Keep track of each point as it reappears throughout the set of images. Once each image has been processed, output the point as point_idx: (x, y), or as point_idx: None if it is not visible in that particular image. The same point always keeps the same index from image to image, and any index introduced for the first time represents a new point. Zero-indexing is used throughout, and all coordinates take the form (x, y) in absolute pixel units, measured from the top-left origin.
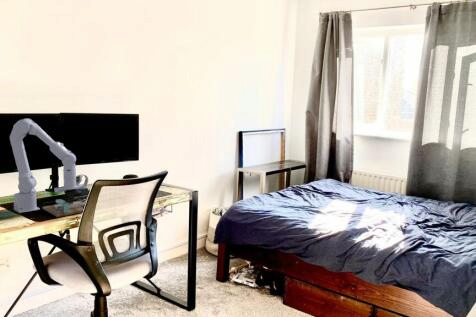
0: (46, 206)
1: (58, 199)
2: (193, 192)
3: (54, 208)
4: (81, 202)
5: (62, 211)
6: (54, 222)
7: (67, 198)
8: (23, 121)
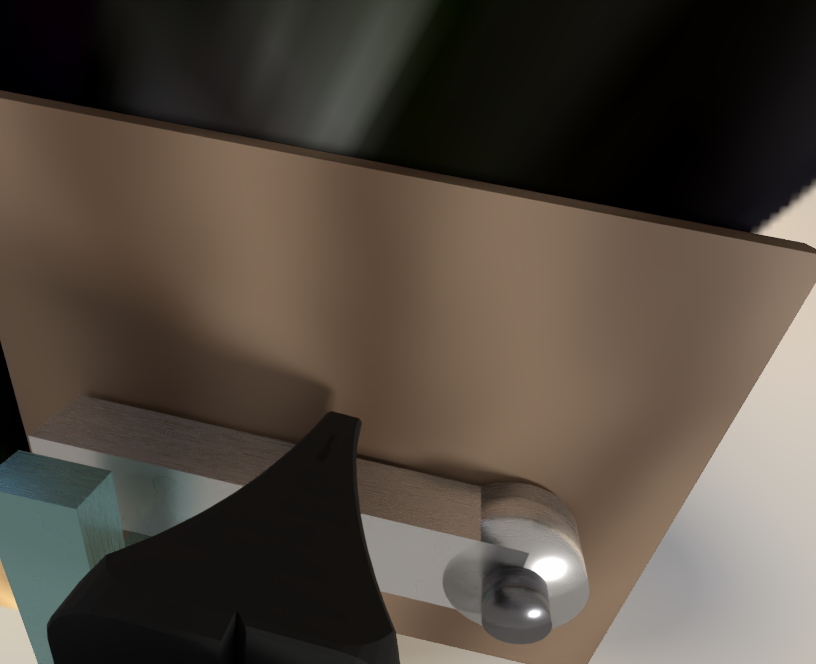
0: (5, 116)
1: (29, 499)
2: None
3: (98, 336)
4: (442, 597)
5: (128, 544)
6: (18, 609)
7: (268, 471)
8: None
